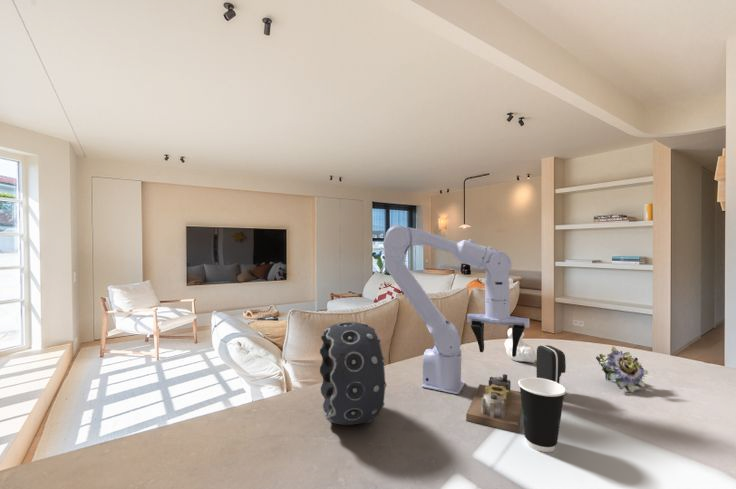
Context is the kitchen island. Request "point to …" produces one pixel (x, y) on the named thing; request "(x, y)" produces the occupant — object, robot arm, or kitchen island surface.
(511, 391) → the gear board
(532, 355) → the bust
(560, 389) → the dixie cup
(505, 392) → the brass gear
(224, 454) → the kitchen island surface
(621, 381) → the passion flower
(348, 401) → the dark grey patterned wheel
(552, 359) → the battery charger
